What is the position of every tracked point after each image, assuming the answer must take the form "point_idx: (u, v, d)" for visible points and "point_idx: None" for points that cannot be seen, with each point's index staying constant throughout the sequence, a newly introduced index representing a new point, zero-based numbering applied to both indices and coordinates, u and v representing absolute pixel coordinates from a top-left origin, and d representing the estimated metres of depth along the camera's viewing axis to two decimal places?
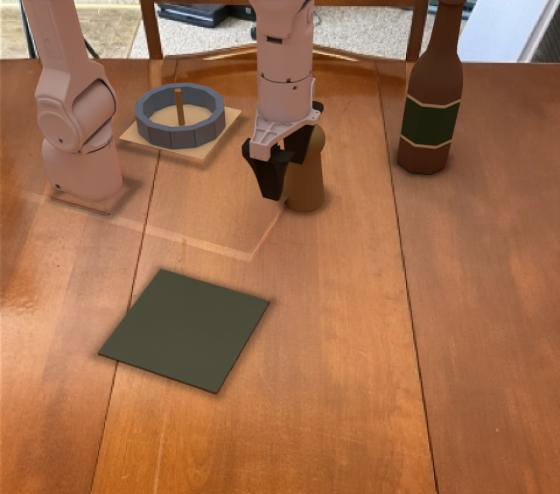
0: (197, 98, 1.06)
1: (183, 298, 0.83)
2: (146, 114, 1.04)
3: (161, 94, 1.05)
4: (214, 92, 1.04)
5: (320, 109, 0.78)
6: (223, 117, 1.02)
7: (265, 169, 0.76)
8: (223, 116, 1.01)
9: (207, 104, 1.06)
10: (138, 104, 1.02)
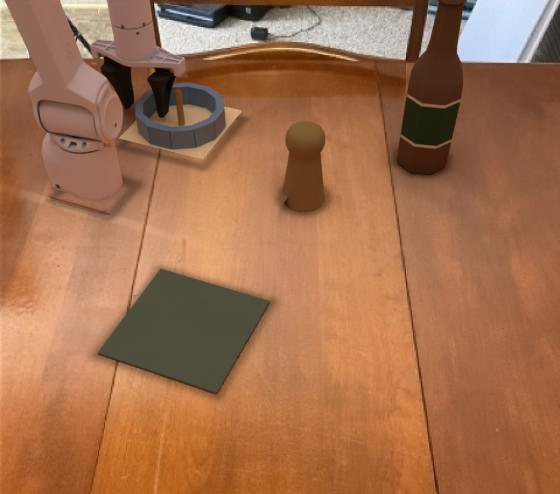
0: (197, 98, 1.06)
1: (183, 298, 0.83)
2: (146, 114, 1.04)
3: None
4: (214, 92, 1.04)
5: None
6: (223, 117, 1.02)
7: None
8: (223, 116, 1.01)
9: (207, 104, 1.06)
10: (138, 104, 1.02)
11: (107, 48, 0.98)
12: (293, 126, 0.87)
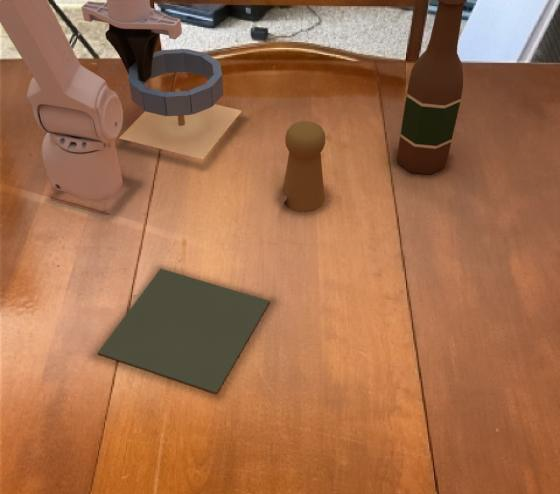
0: (193, 65, 1.02)
1: (183, 298, 0.83)
2: (140, 81, 1.00)
3: (156, 60, 1.00)
4: (211, 58, 1.00)
5: None
6: (220, 83, 0.97)
7: None
8: (220, 82, 0.97)
9: (204, 71, 1.01)
10: (132, 70, 0.97)
11: (99, 10, 0.94)
12: (293, 126, 0.87)
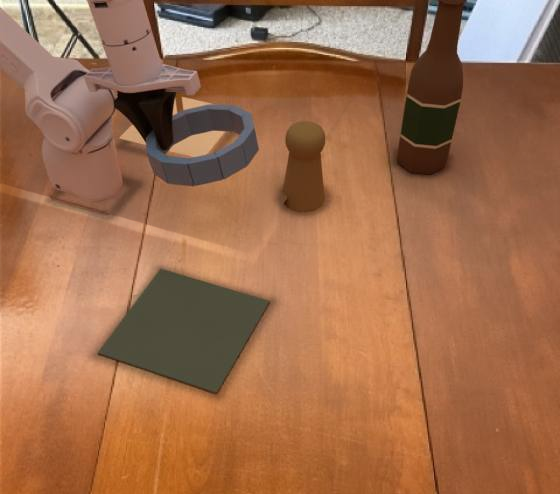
0: (221, 121, 0.86)
1: (183, 298, 0.83)
2: (161, 149, 0.84)
3: (177, 123, 0.85)
4: (240, 110, 0.84)
5: None
6: (254, 138, 0.81)
7: None
8: (254, 136, 0.81)
9: (234, 126, 0.85)
10: (149, 138, 0.83)
11: (104, 76, 0.80)
12: (293, 126, 0.87)
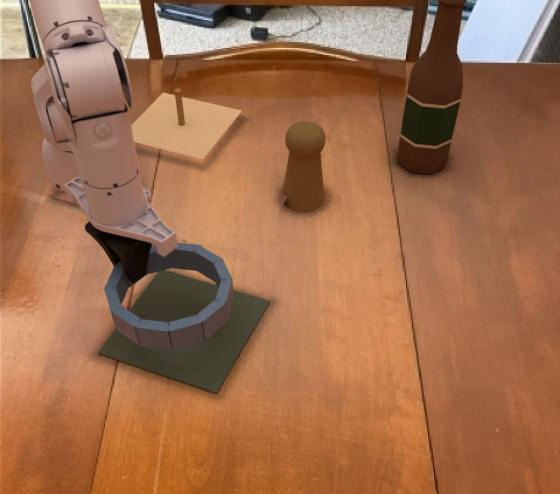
0: (205, 268, 0.76)
1: (183, 298, 0.83)
2: (129, 280, 0.76)
3: (157, 255, 0.76)
4: (224, 269, 0.74)
5: None
6: (222, 312, 0.71)
7: None
8: (222, 311, 0.71)
9: (216, 280, 0.76)
10: (117, 269, 0.74)
11: (83, 194, 0.71)
12: (293, 126, 0.87)
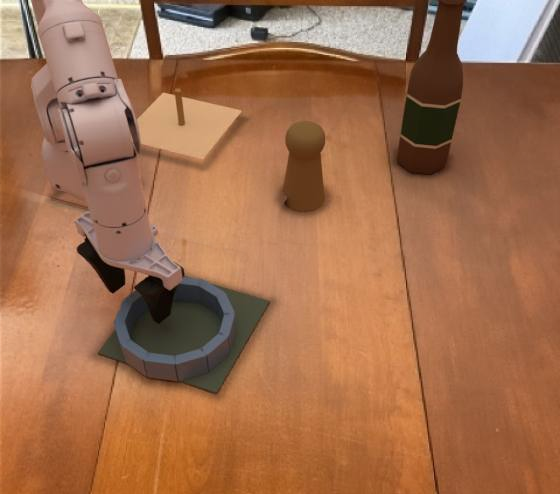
0: (209, 301, 0.80)
1: None
2: (137, 313, 0.80)
3: None
4: (227, 303, 0.78)
5: None
6: (226, 345, 0.75)
7: None
8: (226, 344, 0.75)
9: (219, 312, 0.80)
10: (125, 303, 0.78)
11: (93, 229, 0.74)
12: (293, 126, 0.87)
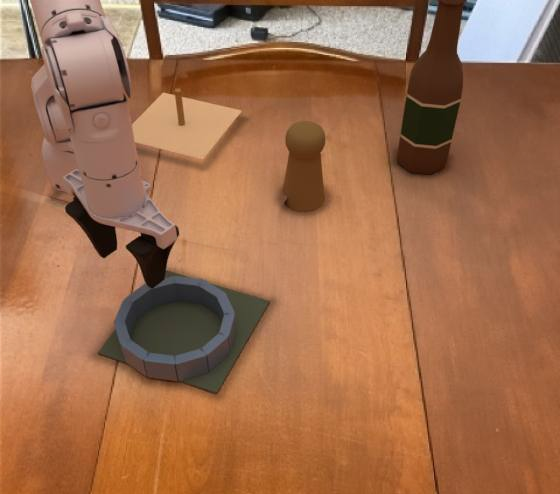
0: (209, 301, 0.80)
1: None
2: (137, 313, 0.80)
3: (163, 289, 0.80)
4: (227, 303, 0.78)
5: None
6: (226, 345, 0.75)
7: None
8: (226, 344, 0.75)
9: (219, 312, 0.80)
10: (125, 303, 0.78)
11: (82, 187, 0.70)
12: (293, 126, 0.87)
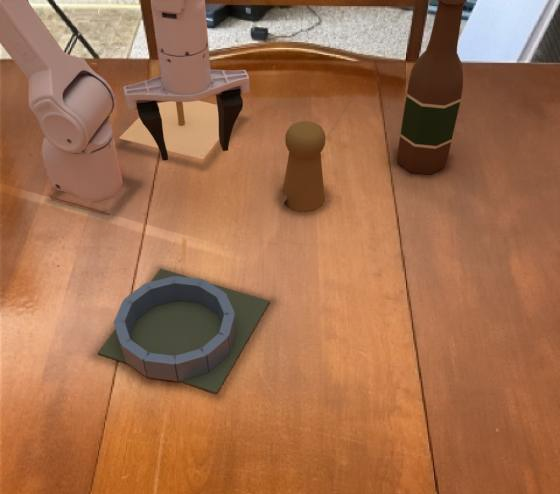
0: (209, 301, 0.80)
1: None
2: (137, 313, 0.80)
3: (163, 289, 0.80)
4: (227, 303, 0.78)
5: None
6: (226, 345, 0.75)
7: None
8: (226, 344, 0.75)
9: (219, 312, 0.80)
10: (125, 303, 0.78)
11: (149, 91, 0.78)
12: (293, 126, 0.87)
